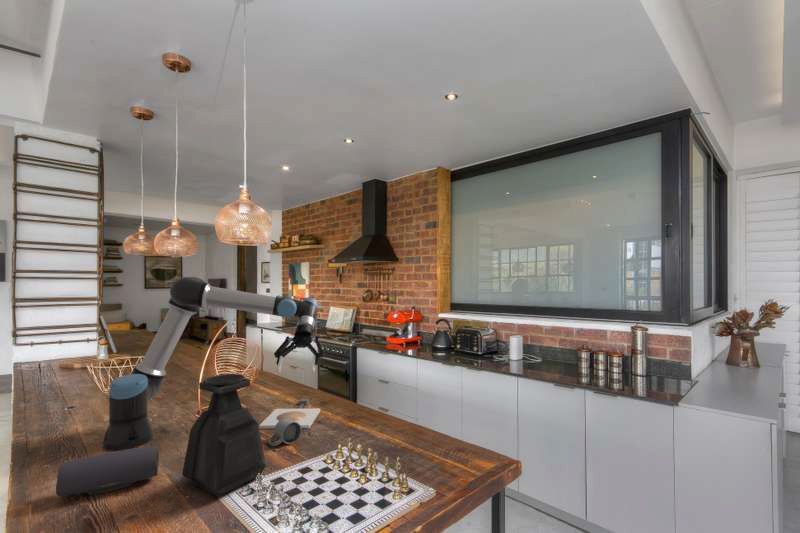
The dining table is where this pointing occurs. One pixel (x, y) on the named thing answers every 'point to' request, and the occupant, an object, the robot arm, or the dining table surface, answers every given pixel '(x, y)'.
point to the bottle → (224, 439)
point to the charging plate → (291, 416)
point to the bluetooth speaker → (107, 471)
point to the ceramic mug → (286, 432)
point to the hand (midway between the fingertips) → (295, 371)
